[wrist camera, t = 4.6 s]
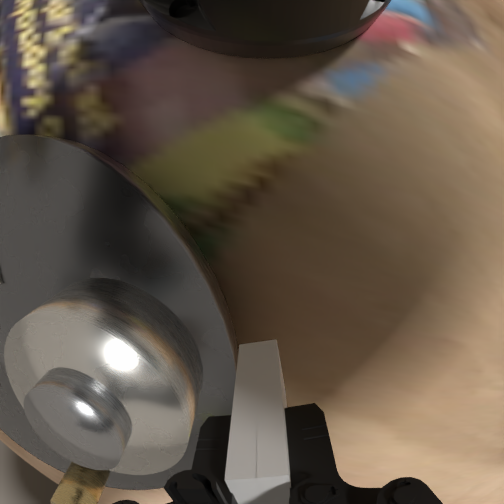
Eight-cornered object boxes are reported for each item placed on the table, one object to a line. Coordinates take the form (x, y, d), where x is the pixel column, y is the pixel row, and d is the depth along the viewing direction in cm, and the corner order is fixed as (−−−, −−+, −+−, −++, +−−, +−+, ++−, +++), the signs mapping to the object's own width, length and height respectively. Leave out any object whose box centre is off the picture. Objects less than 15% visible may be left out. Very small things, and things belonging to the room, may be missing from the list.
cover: (26, 287, 13) (-43, 332, 8) (176, 264, 13) (124, 327, 7) (85, 418, 16) (48, 479, 10) (221, 422, 15) (209, 506, 10)
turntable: (-80, 201, 14) (-136, 216, 7) (187, 71, 13) (134, 3, 6) (19, 447, 21) (-10, 488, 14) (269, 475, 19) (270, 551, 12)
